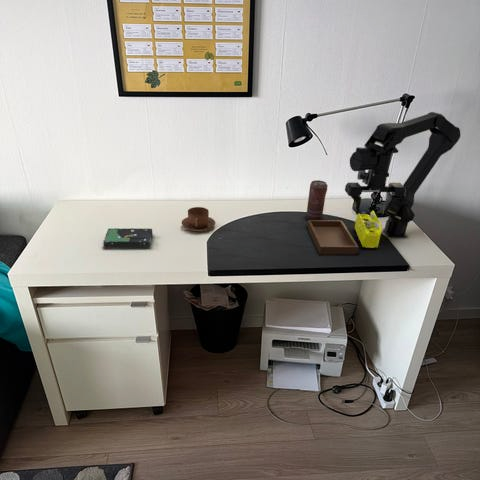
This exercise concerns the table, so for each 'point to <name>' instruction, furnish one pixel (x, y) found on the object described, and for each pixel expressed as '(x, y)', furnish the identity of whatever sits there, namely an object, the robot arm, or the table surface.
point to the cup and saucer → (198, 220)
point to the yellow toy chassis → (368, 230)
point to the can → (316, 200)
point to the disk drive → (128, 238)
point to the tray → (332, 237)
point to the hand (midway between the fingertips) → (370, 214)
